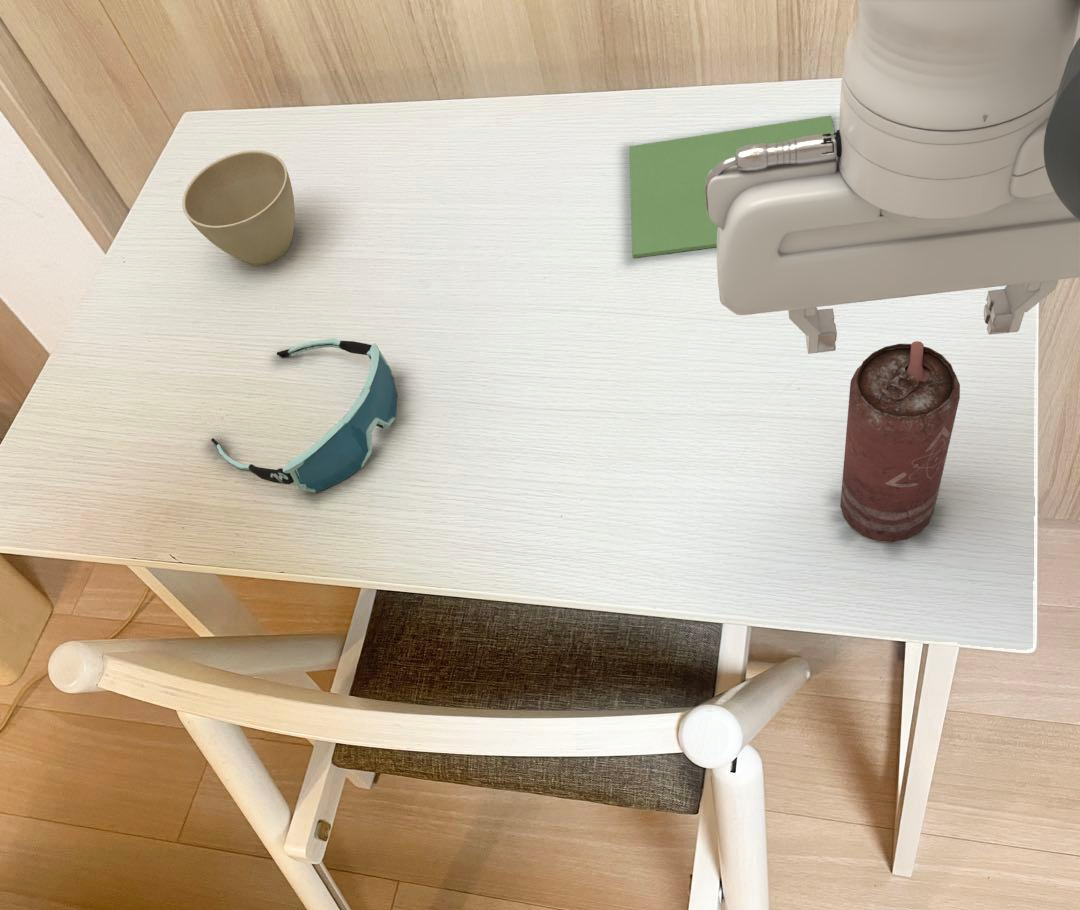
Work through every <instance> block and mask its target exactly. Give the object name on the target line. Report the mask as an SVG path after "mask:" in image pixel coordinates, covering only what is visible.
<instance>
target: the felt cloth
mask: <svg viewBox="0 0 1080 910" xmlns="http://www.w3.org/2000/svg"><path fill="white" fill-rule="evenodd" d="M834 132H835V130H834V124H833V118H832V115H825V116H819V117H812V118H807V119H806V118H805V119H798V120H795V121H794V120H793V121H787V122H779V123H774V124H767V125H761V126H760V125H759V126H753V127H747V128H740V129H734V130H728V131H720V132H715V133H708V134H702V135H701V134H700V135H695V136H688V137H683V138H681V137H680V138H674V139H668V140H662V141H654V142H650V143H649V142H648V143H643V144H637V145H630V146H629V172H630V173H629V175H630V177H629V178H630V179H629V180H630V211H631V247H632V248H631V249H632V258H633V259H635V258H636V259H637V258H645V257H651V256H658V255H666V254H674V253H681V252H688V251H697V250H704V249H712V248H717V231H718V227H717V226H716V225H715V224H714V223H713V222H712V220H711V219H710V218H709V216H708V214H707V211H706V198H705V183H706V180H707V177H708V174H709V172H710V171H711V170H712V169H713V168H714V167H715V166H716V165H718V164H719V163H720V162H722V161H723V160H725V159H727V158H730V157H732V156H736V150H737V149H738V148H740V147H743V146H746V145H750V144H757V143H765V144H772V143H775V144H777V143H780V142H782V143H783V142H785V141H789V140H792V139H794V140H795V139H796V138H800V137H806V136H813V135H820V134H827V133H834Z"/></svg>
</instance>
